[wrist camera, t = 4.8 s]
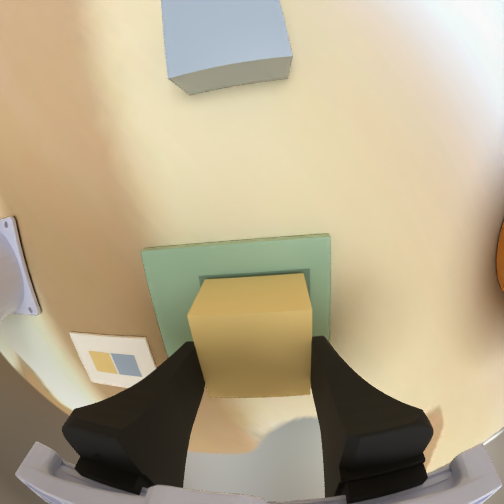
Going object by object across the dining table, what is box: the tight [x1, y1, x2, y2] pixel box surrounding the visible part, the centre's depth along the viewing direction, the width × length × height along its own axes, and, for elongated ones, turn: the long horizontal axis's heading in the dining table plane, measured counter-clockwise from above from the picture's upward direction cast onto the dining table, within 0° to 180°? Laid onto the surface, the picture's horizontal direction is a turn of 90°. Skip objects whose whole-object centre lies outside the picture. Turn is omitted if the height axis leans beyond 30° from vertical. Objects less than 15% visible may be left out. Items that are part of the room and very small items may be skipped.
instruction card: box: [69, 332, 157, 388], centre depth 18 cm, size 7×5×1 cm
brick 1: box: [161, 0, 293, 95], centre depth 10 cm, size 5×5×4 cm
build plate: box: [141, 234, 331, 358], centre depth 16 cm, size 10×9×1 cm
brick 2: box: [187, 273, 312, 398], centre depth 13 cm, size 5×5×4 cm
